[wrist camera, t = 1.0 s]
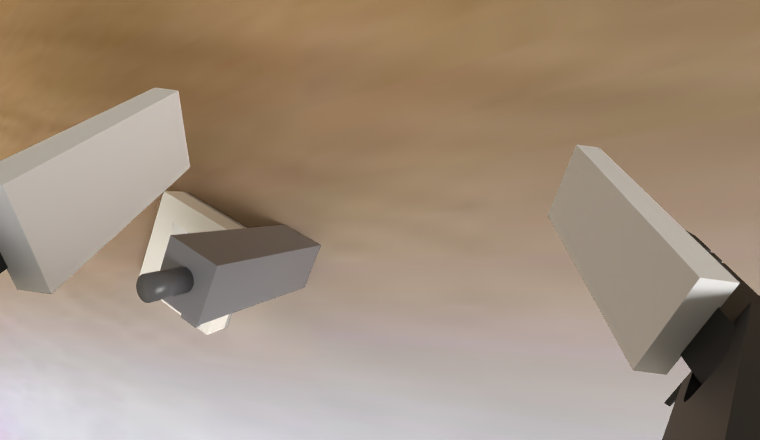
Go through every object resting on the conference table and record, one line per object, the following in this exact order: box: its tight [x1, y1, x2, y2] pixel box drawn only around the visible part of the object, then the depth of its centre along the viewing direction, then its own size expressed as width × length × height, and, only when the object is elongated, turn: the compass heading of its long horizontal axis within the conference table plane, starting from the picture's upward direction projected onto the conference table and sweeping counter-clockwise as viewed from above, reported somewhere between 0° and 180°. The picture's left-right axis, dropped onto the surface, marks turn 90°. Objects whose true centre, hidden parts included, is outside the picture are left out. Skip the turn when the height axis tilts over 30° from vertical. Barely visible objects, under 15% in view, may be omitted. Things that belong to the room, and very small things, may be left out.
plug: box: [136, 224, 321, 326], centre depth 35 cm, size 5×5×17 cm
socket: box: [140, 191, 247, 335], centre depth 46 cm, size 12×12×4 cm
